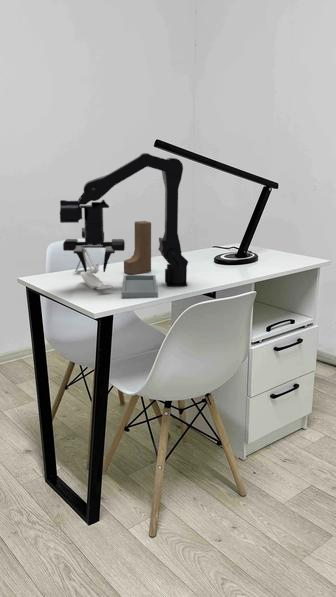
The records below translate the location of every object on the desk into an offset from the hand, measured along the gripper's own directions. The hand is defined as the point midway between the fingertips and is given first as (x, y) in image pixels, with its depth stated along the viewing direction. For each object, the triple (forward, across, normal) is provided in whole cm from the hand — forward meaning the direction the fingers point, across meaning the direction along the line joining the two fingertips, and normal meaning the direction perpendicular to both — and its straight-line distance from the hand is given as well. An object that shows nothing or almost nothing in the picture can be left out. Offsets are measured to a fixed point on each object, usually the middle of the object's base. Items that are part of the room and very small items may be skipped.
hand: (95, 271), depth 176 cm
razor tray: (+5, -14, +2) cm, 15 cm away
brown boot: (+6, -13, -22) cm, 27 cm away
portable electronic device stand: (+6, +5, -26) cm, 27 cm away
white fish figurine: (+6, 0, 0) cm, 6 cm away
